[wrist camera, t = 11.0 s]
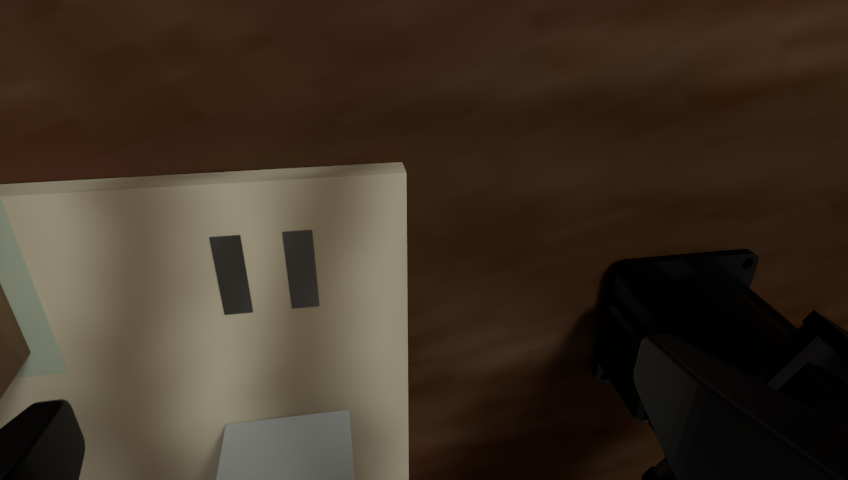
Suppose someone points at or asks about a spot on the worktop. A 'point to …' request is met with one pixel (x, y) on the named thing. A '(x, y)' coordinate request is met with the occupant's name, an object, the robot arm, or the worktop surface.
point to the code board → (211, 310)
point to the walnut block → (10, 345)
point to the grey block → (289, 448)
